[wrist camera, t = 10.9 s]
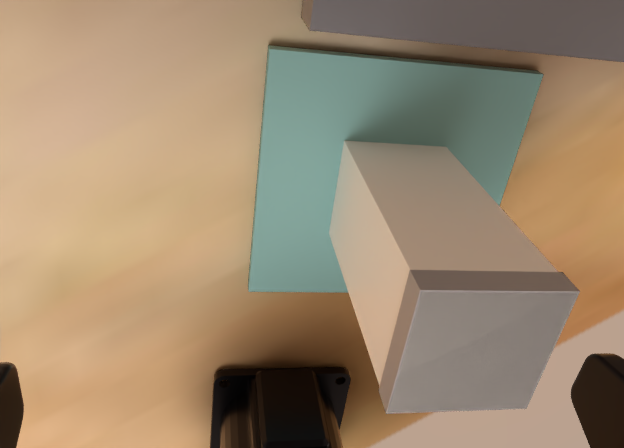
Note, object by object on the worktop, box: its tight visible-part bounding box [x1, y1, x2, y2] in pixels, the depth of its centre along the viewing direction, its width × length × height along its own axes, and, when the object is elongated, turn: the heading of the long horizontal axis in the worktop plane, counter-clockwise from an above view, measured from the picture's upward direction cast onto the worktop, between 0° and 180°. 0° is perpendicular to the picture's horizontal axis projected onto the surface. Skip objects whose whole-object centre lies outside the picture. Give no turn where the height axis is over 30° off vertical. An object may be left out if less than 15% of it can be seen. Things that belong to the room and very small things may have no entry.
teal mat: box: [248, 45, 544, 293], centre depth 22 cm, size 10×10×1 cm
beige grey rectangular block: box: [329, 141, 580, 414], centre depth 18 cm, size 4×4×9 cm
